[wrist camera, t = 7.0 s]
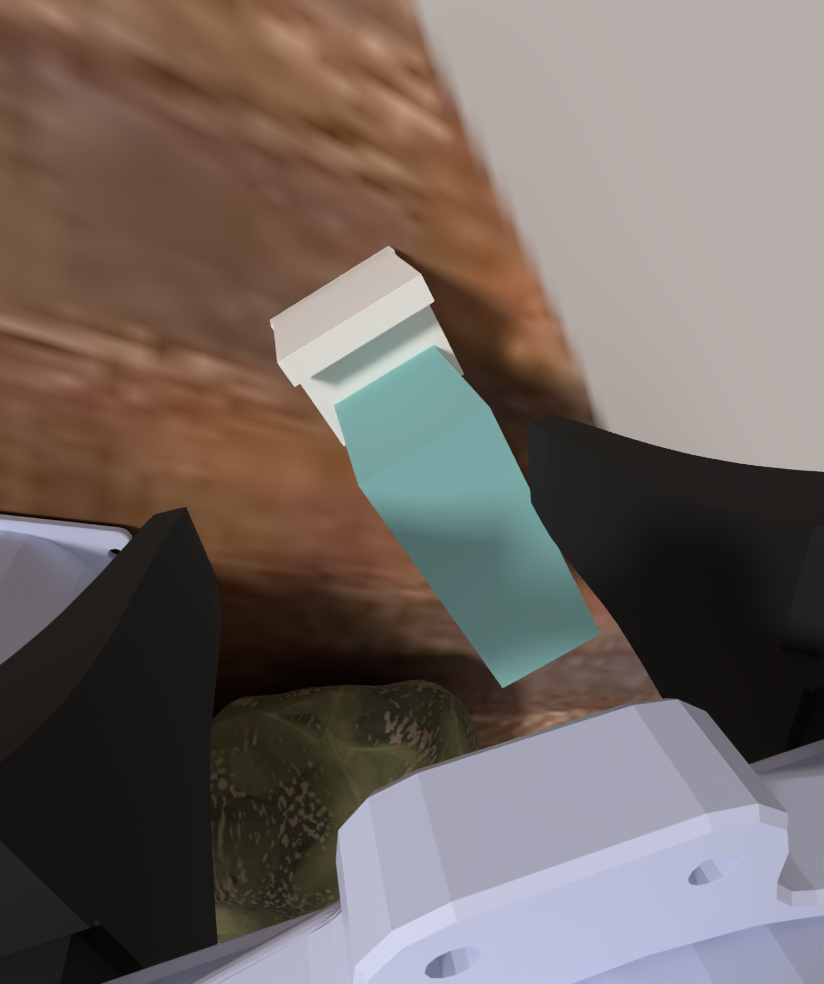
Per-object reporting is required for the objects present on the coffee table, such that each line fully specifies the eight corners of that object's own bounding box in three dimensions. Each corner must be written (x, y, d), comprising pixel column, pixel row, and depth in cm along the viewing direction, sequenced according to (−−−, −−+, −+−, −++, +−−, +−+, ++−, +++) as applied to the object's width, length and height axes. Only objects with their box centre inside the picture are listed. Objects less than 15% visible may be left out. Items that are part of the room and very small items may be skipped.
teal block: (535, 542, 22) (600, 634, 18) (456, 587, 22) (502, 688, 18) (433, 344, 17) (489, 407, 13) (333, 405, 18) (358, 485, 13)
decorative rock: (376, 802, 37) (416, 1000, 29) (105, 805, 30) (63, 1069, 22) (497, 652, 30) (588, 859, 23) (184, 610, 23) (162, 892, 15)
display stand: (522, 507, 26) (571, 573, 22) (432, 558, 26) (465, 633, 22) (388, 245, 19) (424, 271, 15) (269, 319, 19) (274, 364, 15)
